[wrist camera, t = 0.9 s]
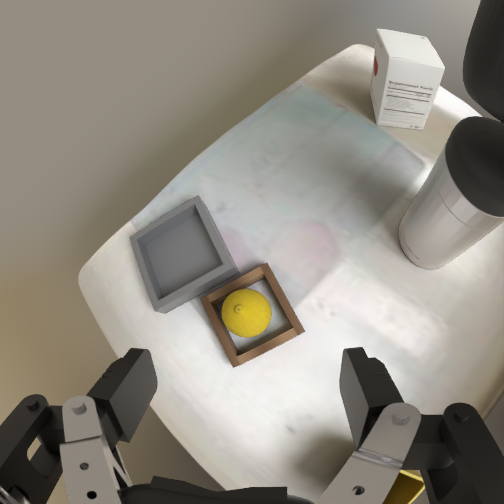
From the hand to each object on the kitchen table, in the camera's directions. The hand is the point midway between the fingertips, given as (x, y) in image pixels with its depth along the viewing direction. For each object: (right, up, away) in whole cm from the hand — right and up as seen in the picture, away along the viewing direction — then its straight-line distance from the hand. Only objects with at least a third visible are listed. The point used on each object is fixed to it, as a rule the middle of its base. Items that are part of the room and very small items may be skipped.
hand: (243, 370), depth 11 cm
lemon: (+1, -3, +26) cm, 26 cm away
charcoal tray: (-9, +4, +30) cm, 31 cm away
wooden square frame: (0, -3, +25) cm, 26 cm away
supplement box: (+26, +30, +31) cm, 50 cm away
